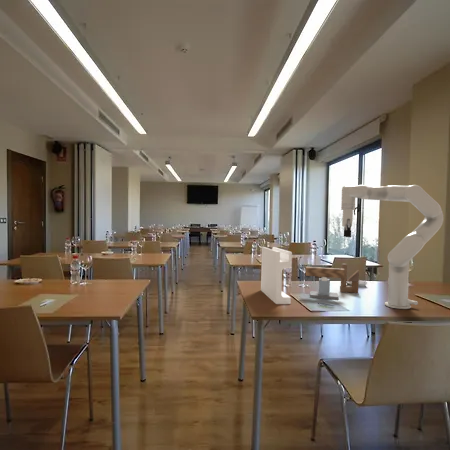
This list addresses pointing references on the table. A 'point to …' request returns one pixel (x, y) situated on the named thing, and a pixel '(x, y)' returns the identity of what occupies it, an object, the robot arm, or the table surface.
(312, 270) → the walnut beam
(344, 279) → the wooden angled stand
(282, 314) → the table surface
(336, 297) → the stand
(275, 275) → the block
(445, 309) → the table surface
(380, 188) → the robot arm
